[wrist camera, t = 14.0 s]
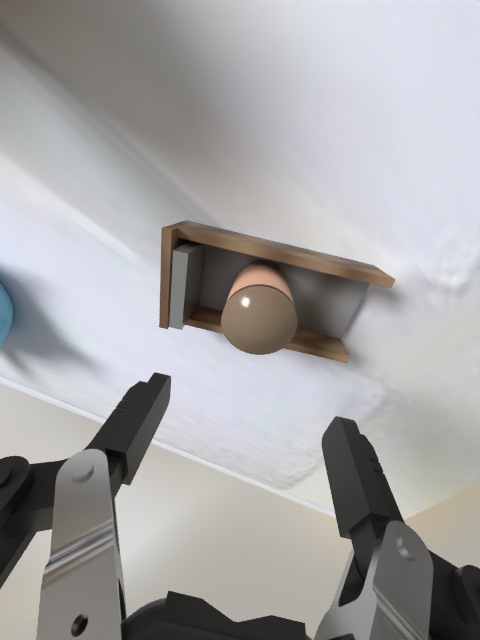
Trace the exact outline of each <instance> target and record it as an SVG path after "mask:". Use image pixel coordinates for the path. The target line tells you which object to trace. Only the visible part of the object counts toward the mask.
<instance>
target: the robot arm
mask: <svg viewBox="0 0 480 640" xmlns="http://www.w3.org/2000/svg"><path fill="white" fill-rule="evenodd" d="M170 389H171V376H168V375H164V374H160V373H154V374H153V375H152V377H151V378H150V380H149V381H148V383H146V382H142V381H140V382H138V383H137V384H135V385H134V386H132V387H131V388H130V389H129V390H128V391H127V393H126V394H125V396H124V397H123V398H122V401H120V402H119V404H118V405H117V407H116V409H114V411H113V412H112V414H111V415H110V416H109V418H108V419H107V420H106V422H105V423H104V425H103V426H102V427H101V429H100V430H99V432H98V433H97V434H96V436H95V437H94V438H93V440H92V441H91V442H90V444H89V445H88V446H87V447H86V448H85V449H84V450H82V451H81V452H78V453H76V454H75V455H73V456H72V457H71V458H68V459H65V460H61V461H55V462H46V463H37V464H29V462H28V461H27V460H26V459H25V458H23V457H20V456H10V457H5V458H2V459H0V589H1V587H2V586H3V584H4V582H5V581H6V579H7V578H8V576H9V574H10V573H11V571H12V570H13V568H14V567H15V565H16V563H17V562H18V561H19V559H20V557H21V556H22V554H23V553H24V551H25V550H26V548H27V546H28V545H29V543H30V542H31V540H32V539H33V537H34V535H35V534H36V532H38V531H43V530H49V529H52V539H51V551H50V558H49V562H48V564H47V565H46V567H45V570H44V573H43V578H42V584H41V594H40V605H39V617H38V627H37V638H36V640H312V639H311V638H310V637H309V636H307V635H306V631H305V623H302V622H298V621H293V620H289V619H285V618H281V617H277V616H272V615H270V616H266V617H261V618H256V619H252V620H247V621H242V622H234V621H232V620H231V619H229V618H228V617H226V616H225V615H224V614H222V613H221V612H220V611H218V610H217V609H215V608H214V607H213V606H211V605H210V604H208V603H207V602H206V601H204V600H203V599H201V598H197V597H193V596H188V595H184V594H180V593H176V592H172V591H168V594H167V598H164V599H159V600H156V601H153V602H151V603H148V604H147V605H145V606H143V607H141V608H140V609H138V610H137V611H136V612H134V613H133V614H132V615H130V616H129V617H128V618H127V611H126V601H125V591H124V583H123V572H122V565H121V558H120V548H119V537H118V529H117V528H118V527H117V517H116V507H115V496H116V494H117V492H118V490H119V489H120V487H121V484H126V485H130V484H131V482H132V480H133V478H134V476H135V474H136V471H137V469H138V468H139V465H140V463H141V461H142V459H143V457H144V455H145V453H146V451H147V449H148V447H149V445H150V443H151V440H152V438H153V436H154V434H155V432H156V430H157V428H158V426H159V424H160V422H161V420H162V418H163V416H164V413H165V411H166V409H167V407H168V404H169V400H170ZM322 450H323V455H324V460H325V465H326V470H327V475H328V480H329V484H330V489H331V494H332V499H333V504H334V509H335V514H336V519H337V523H338V528H339V533H340V537H343V538H347V539H351V540H352V544H353V549H352V550H351V552H350V554H349V557H348V560H347V563H346V566H345V569H344V571H343V575H342V577H341V580H340V583H339V586H338V589H337V591H336V594H335V597H334V600H333V602H332V605H331V607H330V609H329V610H328V611H327V613H326V614H325V615H324V617H323V619H322V621H321V623H320V625H319V627H318V630H317V632H316V635H315V637H314V640H480V569H479V568H477V567H475V566H472V565H466V566H463V567H461V568H457V567H456V566H454V565H452V564H451V563H449V562H447V561H446V560H444V559H442V558H441V557H439V556H438V555H436V554H434V553H433V552H431V551H429V550H428V549H427V547H426V546H425V544H424V542H423V541H422V540H421V538H420V537H419V536H418V535H417V534H416V532H415V531H413V529H411V528H410V527H409V526H407V525H406V524H405V523H404V520H403V518H402V516H401V514H400V511H399V509H398V506H397V504H396V501H395V499H394V497H393V494H392V492H391V489H390V487H389V484H388V482H387V479H386V477H385V475H384V474H383V470H382V467H381V465H380V463H379V462H378V461H379V460H378V457H377V455H376V453H375V450H374V448H373V446H372V445H371V443H370V442H369V441H368V439H367V438H366V437H365V435H362V434H360V432H359V429H358V427H357V424H356V422H355V421H354V420H351V419H347V418H342V417H338V416H336V417H335V418H334V419H333V421H332V422H331V424H330V425H329V427H328V428H327V430H326V431H325V433H324V434H323V437H322Z"/></svg>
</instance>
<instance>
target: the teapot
mask: <svg viewBox="0 0 480 640" xmlns="http://www.w3.org/2000/svg"><path fill="white" fill-rule="evenodd" d="M12 320H13V305H12V302H11V299H10V297H9V295H8V293H7V291H6V290H5V288H4V287H3V286H2V284H1V283H0V347H1V346H2V344H3V343H4V341H5V340H6V338H7V337H8V331H9V330H10V327H11V324H12Z"/></svg>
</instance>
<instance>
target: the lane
mask: <svg viewBox="0 0 480 640" xmlns="http://www.w3.org/2000/svg"><path fill="white" fill-rule="evenodd" d="M190 240H191V241H195V242H199V243H203V244H206V251H205V259H204V267H203V275H202V283H201V291H200V299H199V304H198V305H197V307H196V308H195V310H194V311H193V313H192V315H191V316H190V318H189V319H188V321H187V322H186V324H185V325H189V326H193V327H197V328H201V329H206V330H210V331H214V332H218V333H223V330H222V325H221V317H222V313H223V310H224V307H225V304H226V302H227V299H228V296H229V294H230V291H231V288H232V285H233V283H234V280H235V277H236V275H237V273H238V272H239V271H240V269H241V268H242V267H244V266H245V265H246V264H248V263H251V262H253V261H259V260H264V261H269V262H272V263H274V264H276V265H278V266H279V267H280V268H281V269H282V270H283V271H284V273H285V274H286V276H287V279H288V283H289V287H290V291H291V295H292V299H293V303H294V307H295V311H296V315H297V330H296V333H295V335H294V337H293V338H292V340H291V341H290V342H289V343H288V344H287V345H286V346H285V347H284V348H286V349H290V350H294V351H299V352H303V353H307V354H311V355H315V356H320V357H324V358H328V359H332V360H337V361H341V362H345V363H346V362H347V361H348V359H349V355H348V353H347V351H346V349H345V347H344V345H343V343H342V341H341V339H340V338H341V336H342V334H343V333H344V331H345V329H346V327H347V325H348V323H349V321H350V320H351V318H352V316H353V314H354V312H355V310H356V308H357V307H358V305H359V303H360V301H361V299H362V297H363V295H364V293H365V292H366V290H367V288H368V286H369V284H370V283H371V284H375V285H379V286H383V287H387V288H391V287H392V285H393V283H394V281H395V279H394V278H392V277H391V276H389V275H388V274H386V273H385V272H383V271H382V270H380V269H379V268H377V267H376V266H374V265H370V264H366V263H362V262H358V261H354V260H349V259H345V258H341V257H337V256H333V255H329V254H324V253H320V252H316V251H312V250H308V249H303V248H299V247H295V246H291V245H287V244H283V243H278V242H274V241H270V240H266V239H262V238H257V237H253V236H249V235H245V234H241V233H237V232H232V231H228V230H224V229H220V228H216V227H211V226H207V225H203V224H199V223H195V222H191V221H183V222H179V223H176V224H173V225H170V226H166V227H163V228H162V242H161V283H160V325H159V327H161V328H165V329H168V327H169V323H170V303H171V284H172V264H173V250H175V249H176V248H178V247H180V246H182V245H183V244H185V243H187V242H189V241H190ZM223 334H224V333H223Z"/></svg>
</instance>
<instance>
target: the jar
mask: <svg viewBox="0 0 480 640" xmlns="http://www.w3.org/2000/svg"><path fill="white" fill-rule="evenodd" d="M221 325H222V330H223V333H224V335H225V336H226V338H227V339H228V341H229V342H230V343H231V344H232V345H233V346H235V347H236V348H238V349H240V350H241V351H244V352H246V353H250V354H257V355H264V354H270V353H273V352H276V351H278V350H280V349H282V348H284V347H285V346H286V345H287V344H288V343H289V342H290V341H291V340H292V338H293V337H294V335H295V333H296V330H297V315H296V311H295V307H294V303H293V299H292V295H291V291H290V287H289V283H288V279H287V276H286V274H285V273H284V271H283V270H282V269H281V268H280V267H279V266H278V265H276V264H274V263H272V262H269V261H264V260H259V261H253V262H251V263H248V264H246V265H245V266H244V267H242V268H241V269H240V271H239V272H238V273H237V275H236V277H235V280H234V283H233V285H232V288H231V291H230V294H229V296H228V299H227V302H226V304H225V307H224V310H223V313H222V317H221Z"/></svg>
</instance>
